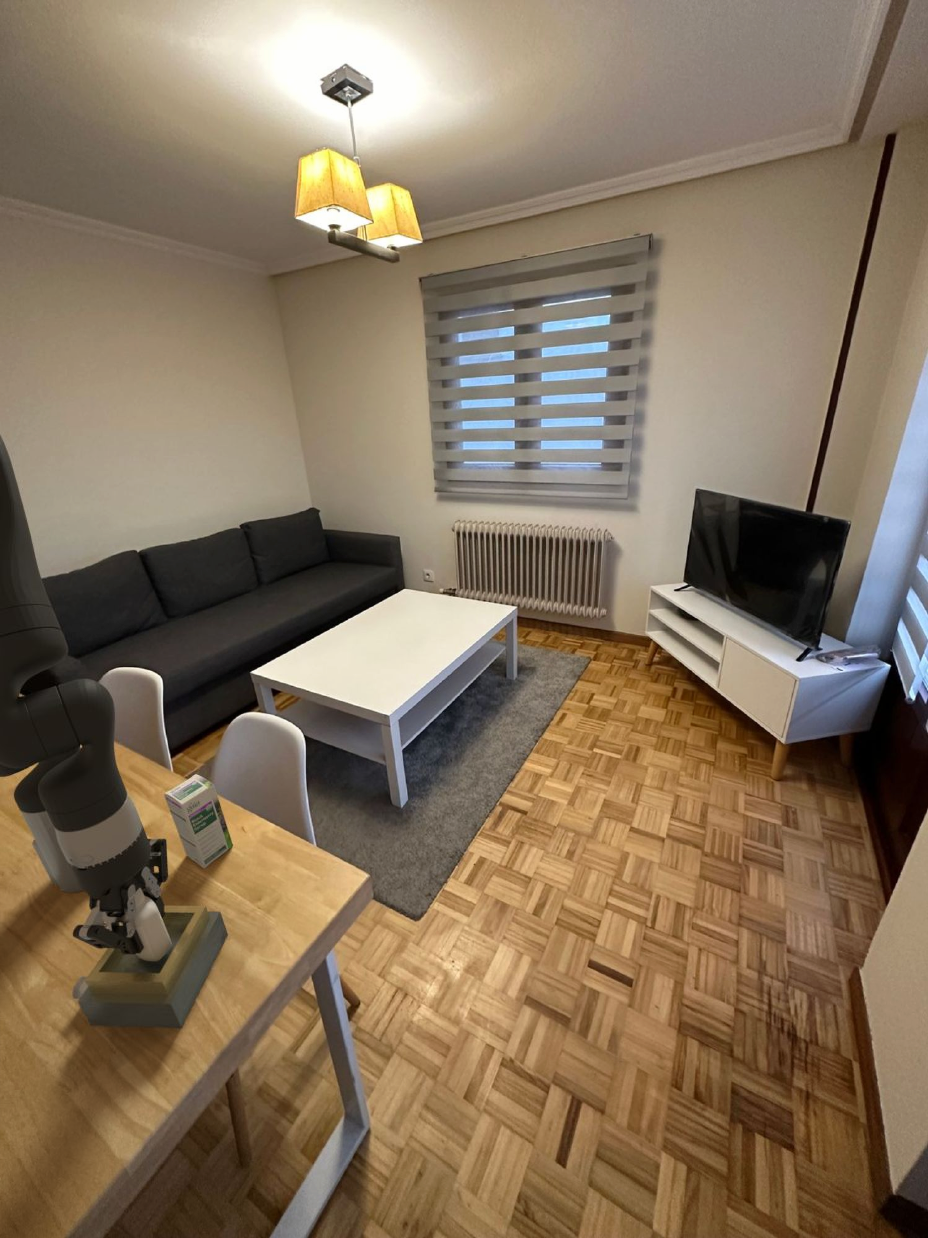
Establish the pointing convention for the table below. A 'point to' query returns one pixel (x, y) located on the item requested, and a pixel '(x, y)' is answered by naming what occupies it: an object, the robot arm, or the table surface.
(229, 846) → the syrup box
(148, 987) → the grey gold open box
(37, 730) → the robot arm
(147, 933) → the eye dropper bottle
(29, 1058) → the table surface
